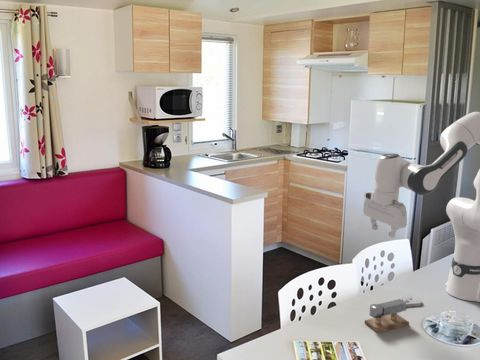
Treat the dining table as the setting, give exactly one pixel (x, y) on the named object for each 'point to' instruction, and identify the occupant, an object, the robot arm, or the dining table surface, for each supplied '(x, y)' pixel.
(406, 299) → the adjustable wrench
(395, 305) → the gray flashlight
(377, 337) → the dining table surface
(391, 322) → the peg rack
